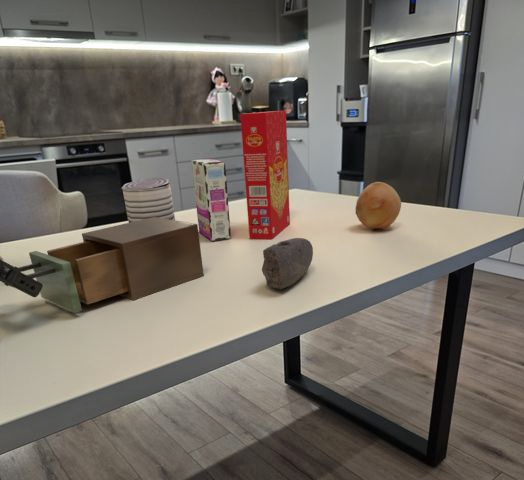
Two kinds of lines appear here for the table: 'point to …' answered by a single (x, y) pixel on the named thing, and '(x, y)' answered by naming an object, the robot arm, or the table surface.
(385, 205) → the onion
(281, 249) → the perforated stone tool
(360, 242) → the table surface
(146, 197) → the can
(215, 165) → the candy bar box
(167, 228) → the cabinet
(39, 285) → the robot arm
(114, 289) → the drawer
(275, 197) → the food packaging
